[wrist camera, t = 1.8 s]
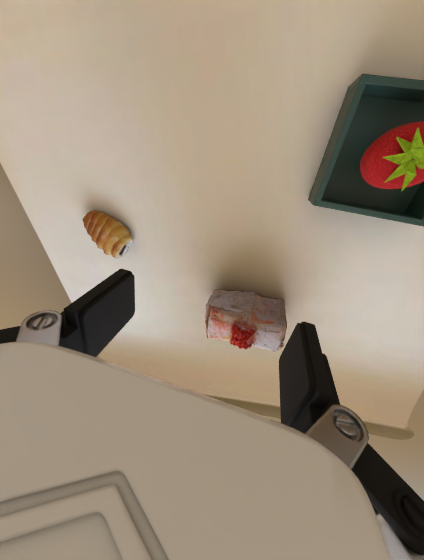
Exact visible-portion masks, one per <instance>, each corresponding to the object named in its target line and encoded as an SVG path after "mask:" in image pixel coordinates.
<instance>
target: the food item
mask: <svg viewBox="0 0 424 560" xmlns="http://www.w3.org/2000/svg"><path fill="white" fill-rule="evenodd" d="M205 322H206V334H207V338H215V339H219V340H224V341H230V343H231V345H232V344H233V345H236V346H238V347H239V348H240V349H241V348H244V349H248V348H247V347H251V346H256V347H260V348H264V349H269V350H272V351H276V350H279V349H281V347H283V346H284V345H282V344H283V341H284V338H285V333H286V328H287V321H286V314H285V301H284V300H282V299H270V298H266V297H260V296H258V295H257V294H256V293H255V292H253V291H243V292H240V291H237V290H235V291H232V292H231V291H224V290H218V289H217V290H214V291H213V294H212V295H211V296H210V299H209V301H208V303H207V304H206V313H205Z"/></svg>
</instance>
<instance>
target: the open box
mask: <svg viewBox="0 0 424 560" xmlns="http://www.w3.org/2000/svg"><path fill="white" fill-rule="evenodd" d="M413 122H424V80H415V79H406V78H397V77H388V76H379V75H370V74H362V75H361V76H360V77H359V78H358V79H357V80H356V81H354V82H353V83H352V84H351V85H350V86H349V87H348V90H347V93H346V95H345V98H344V101H343V104H342V107H341V109H340V112H339V115H338V118H337V120H336V123H335V126H334V129H333V132H332V134H331V137H330V140H329V143H328V146H327V148H326V151H325V154H324V157H323V159H322V162H321V165H320V168H319V171H318V173H317V176H316V179H315V182H314V184H313V187H312V190H311V193H310V196H309V198H308V200H309V201H310V202H311V203H312V204H313V205H315V206H320V207H326V208H331V209H336V210H341V211H346V212H352V213H357V214H362V215H367V216H372V217H378V218H383V219H388V220H393V221H398V222H404V223H409V224H414V225H419V226H424V181H423V182H421V183H419V184H416V185H413V186H410V187H405V188H404V190H403V191H402V192H401V189H402V188H398V189H381V188H377V187H374V186H372V185H370V184H368V183H367V182H366V181H365V180H364V179H363V177H362V175H361V172H360V162H361V158H362V156H363V154H364V153H365V151H366V150H367V149H368V147H369V146H370V145H371V144H372V143H373V142H374V141H375V140H376V139H378V138H379V137H380V136H382V135H383V134H385V133H386V132H388V131H390V130H392V129H394V128H396V127H398V126H401V125H404V124H408V123H413Z"/></svg>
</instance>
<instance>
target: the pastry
mask: <svg viewBox="0 0 424 560" xmlns="http://www.w3.org/2000/svg"><path fill="white" fill-rule="evenodd" d="M83 222H84V226H85V228H86V230H87V233H88V234H89V235H90V236H91V237H92V241H94V242H96V244H97V246H98V248H100V249H103V250H104V253H105V254H107V255H112V256H113V257H114V258H121V257H122V255H123V254H124V253H126V252H127V250H128V248H129V246H130V245H131V244H132V243H133V238H132V236H131V233H130V231H129V230H128V228H127V227H125V226H124V225H123V224H122V223H121V222H119V221H118V220H116V219H114V218H113V217H111V216H109V215H107V214H105V213H103V212H100V211H90V212H88V213H87V214H86V216H85V217H84V218H83Z"/></svg>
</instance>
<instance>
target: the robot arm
mask: <svg viewBox="0 0 424 560" xmlns="http://www.w3.org/2000/svg"><path fill="white" fill-rule="evenodd" d="M134 312H135V289H134V275H133V274H132V272H131V271H128V270H124V269H119V270H118V271H117V272H115V273H114V274H112V275H111V276H110V277H108V278H107V279H105V280H104V281H102V282H101V283H100V284H98V285H97V286H95V287H94V288H93V289H91V290H90V291H88V292H87V293H86V294H84V295H83V296H81V297H80V298H79V299H77V300H76V301H74V302H73V303H71V304H70V305H69V306H67V307H66V308H64V311H63V312H62V313H59V312H57V311H52V310H44V311H39V312H36V313H33V314H31V315H29V316H28V317H26V318H25V319H24V321H23V322H22V324H21V326H17V327H13V328H7V329H2V330H0V560H424V501H423V500H422V499H421V498H420V497H419V496H418V495H417V494H416V493H415V492H414V491H413V489H412V488H411V487H410V486H409V485H408V484H407V483H406V482H405V481H404V480H403V479H402V478H401V477H400V476H399V475H398V474H397V473H396V472H395V471H394V470H393V469H392V468H391V467H390V466H389V465H388V464H387V462H386V461H385V460H384V459H383V458H382V457H381V456H380V455H379V454H378V453H377V452H376V451H375V450H374V449H373V448H372V447H371V446H370V445H369V444H368V440H369V435H368V431H367V428H366V426H365V424H364V423H363V421H362V420H361V419H360V418H359V417H358V415H357V414H356V413H354V412H353V411H352V410H350V409H349V408H347V407H345V406H342V405H340V402H339V399H338V395H337V392H336V388H335V385H334V381H333V377H332V374H331V370H330V367H329V363H328V360H327V357H326V355H325V354H322V351H321V347H320V343H319V339H318V336H317V332H316V328H315V325H314V324H310V323H307V322H302V323H301V324H300V323H298V324H297V325H296V327H295V329H294V331H293V333H292V335H291V337H290V339H289V341H288V343H287V344H286V346H285V348H284V350H283V352H282V354H281V356H280V359H279V379H280V407H281V423H280V422H277V421H274V420H272V419H269V418H266V417H264V416H261V415H258V414H256V413H253V412H250V411H248V410H245V409H242V408H239V407H237V406H234V405H231V404H228V403H225V402H223V401H220V400H217V399H214V398H211V397H209V396H206V395H203V394H200V393H197V392H194V391H192V390H189V389H186V388H183V387H180V386H177V385H174V384H172V383H169V382H166V381H163V380H160V379H157V378H154V377H152V376H149V375H146V374H143V373H140V372H137V371H134V370H131V369H128V368H125V367H123V366H120V365H117V364H114V363H111V362H108V361H105V360H102V359H99V358H96V356H98V355H99V353H100V352H101V351H102V350H103V349H104V348H105V347H106V346H107V344H108V343H109V342H110V341H111V340H112V339H113V338H114V337H115V336H116V334H117V333H118V332H119V331H120V330H121V329H122V328H123V327H124V326H125V324H126V323H127V322H128V321H129V320H130V319H131V318H132V317H133V315H134Z"/></svg>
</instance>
